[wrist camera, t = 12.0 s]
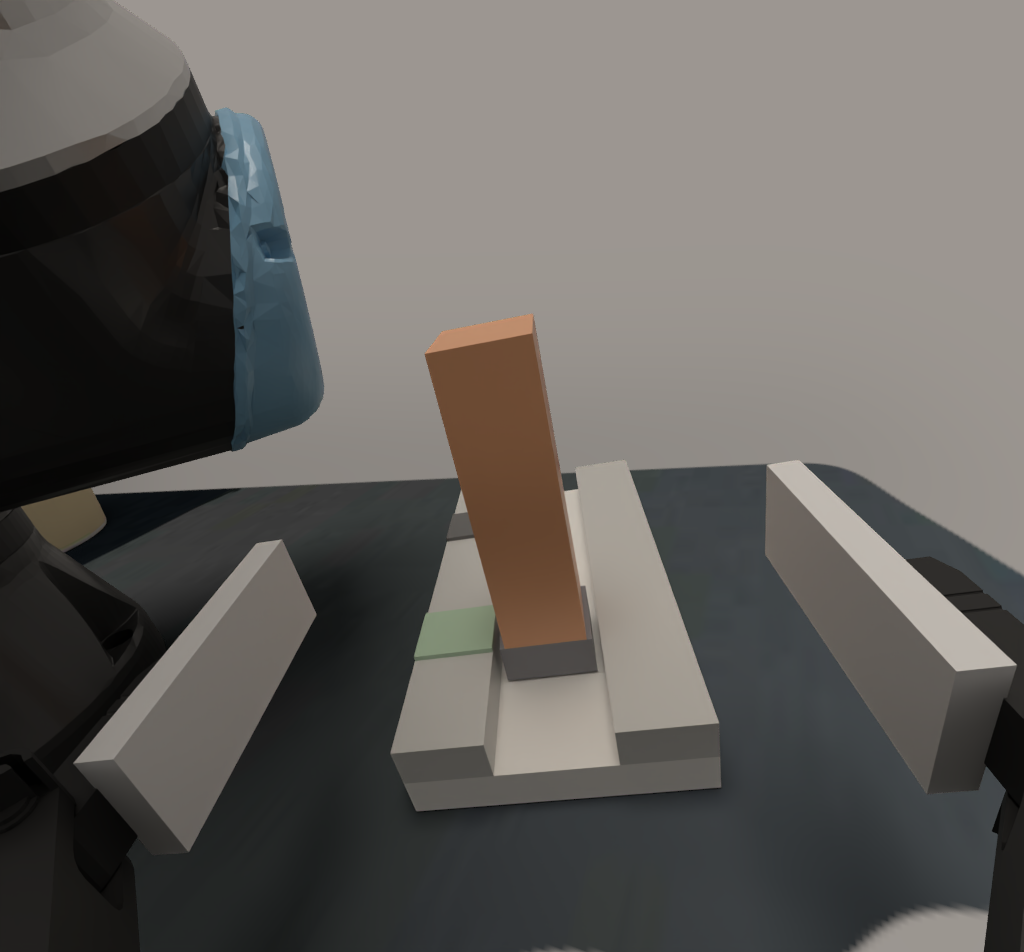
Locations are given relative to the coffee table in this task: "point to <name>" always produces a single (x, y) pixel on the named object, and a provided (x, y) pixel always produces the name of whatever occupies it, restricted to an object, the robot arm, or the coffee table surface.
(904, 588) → the robot arm
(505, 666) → the handle
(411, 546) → the coffee table surface
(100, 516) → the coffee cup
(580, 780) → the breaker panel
